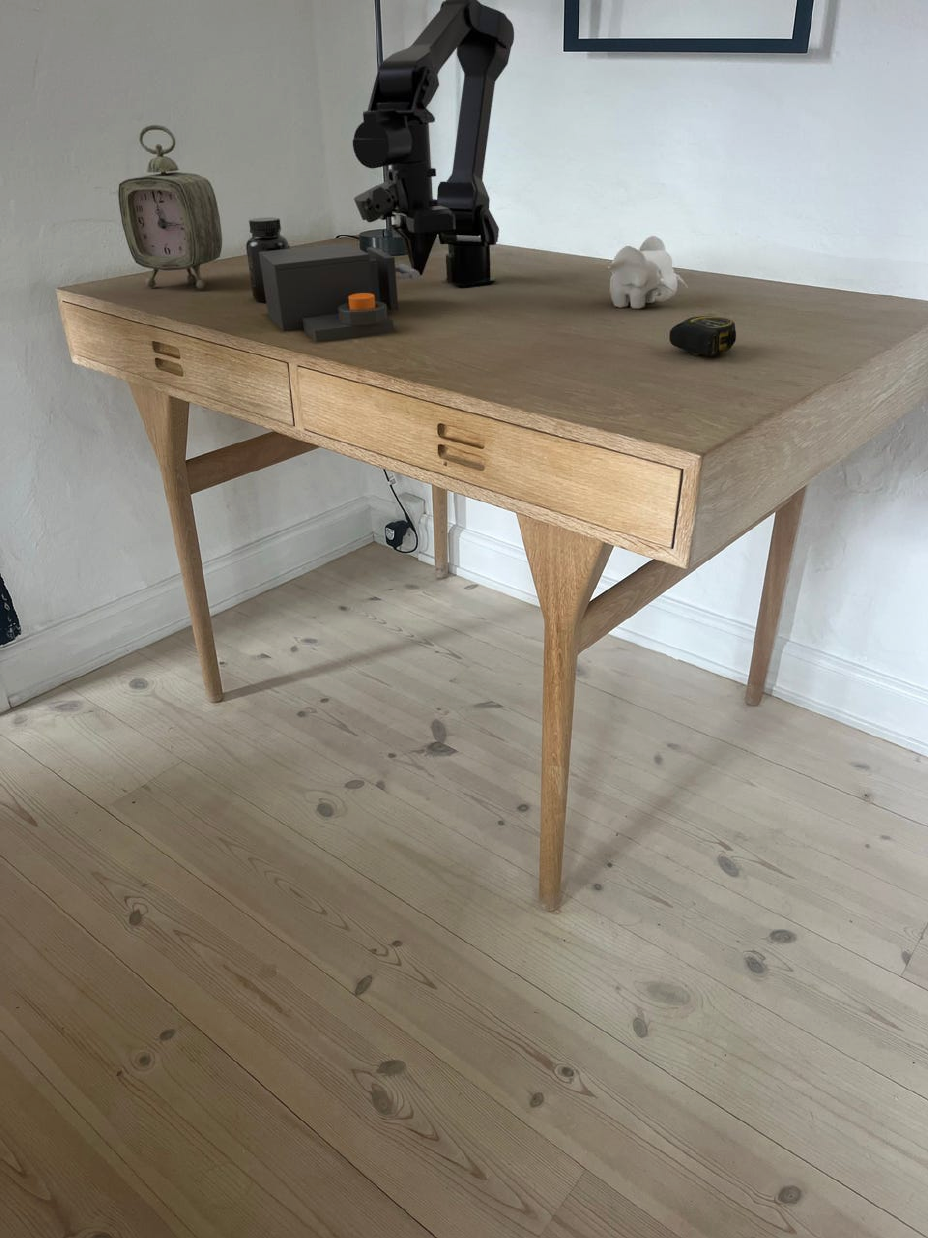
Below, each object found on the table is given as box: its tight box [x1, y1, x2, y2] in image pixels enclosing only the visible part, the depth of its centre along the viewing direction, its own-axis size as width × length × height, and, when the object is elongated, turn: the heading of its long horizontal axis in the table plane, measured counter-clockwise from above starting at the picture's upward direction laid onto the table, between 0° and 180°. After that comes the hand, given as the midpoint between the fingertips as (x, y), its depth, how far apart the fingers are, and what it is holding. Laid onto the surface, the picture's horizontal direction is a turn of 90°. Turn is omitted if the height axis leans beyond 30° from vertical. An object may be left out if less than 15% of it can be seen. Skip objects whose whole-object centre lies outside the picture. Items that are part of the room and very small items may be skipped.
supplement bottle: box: [245, 216, 291, 303], centre depth 146 cm, size 7×7×12 cm
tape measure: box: [668, 315, 737, 357], centre depth 112 cm, size 7×7×4 cm
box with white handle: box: [366, 246, 421, 311], centre depth 137 cm, size 17×10×7 cm, turn 111°
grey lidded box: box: [259, 242, 373, 332], centre depth 135 cm, size 14×12×9 cm
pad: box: [302, 301, 394, 343], centre depth 128 cm, size 11×9×4 cm
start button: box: [348, 293, 375, 310], centre depth 126 cm, size 4×4×2 cm
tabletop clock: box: [117, 124, 223, 291], centre depth 155 cm, size 14×9×25 cm, turn 68°
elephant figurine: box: [606, 235, 688, 310], centre depth 133 cm, size 10×12×9 cm
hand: (418, 275), depth 139 cm, fingers closed, pressing on box with white handle
